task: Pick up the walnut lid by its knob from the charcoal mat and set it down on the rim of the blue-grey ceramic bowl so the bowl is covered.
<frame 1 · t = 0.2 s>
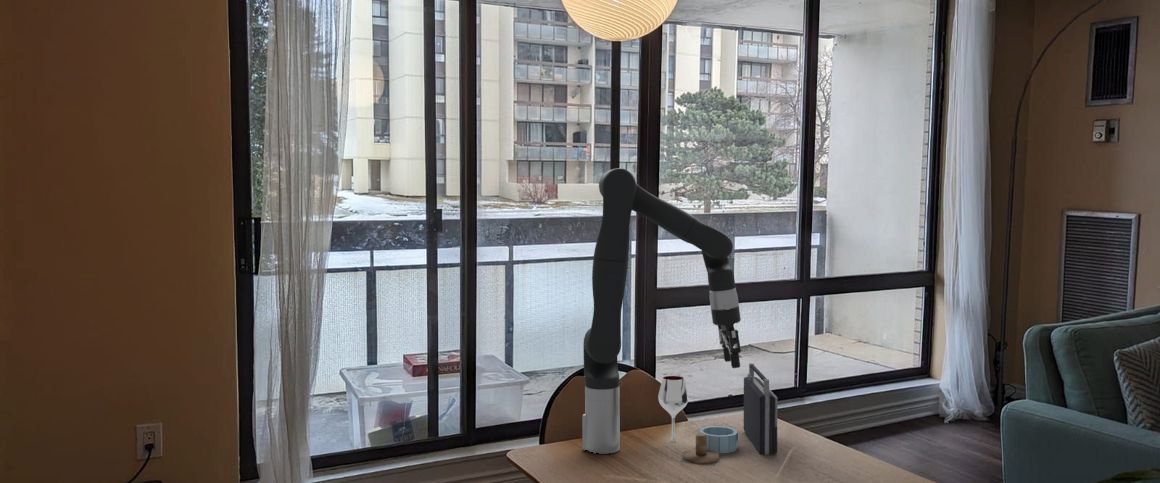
hand: (732, 364, 230), 22 cm above the table, tool pointing down, fingers open, 8 cm apart
wineglass: (673, 443, 234), on the table
bowl: (718, 449, 227), on the table
lid: (701, 458, 218), point 1 cm above the table, touching mat
mat: (701, 460, 218), on the table
radio: (760, 444, 233), on the table
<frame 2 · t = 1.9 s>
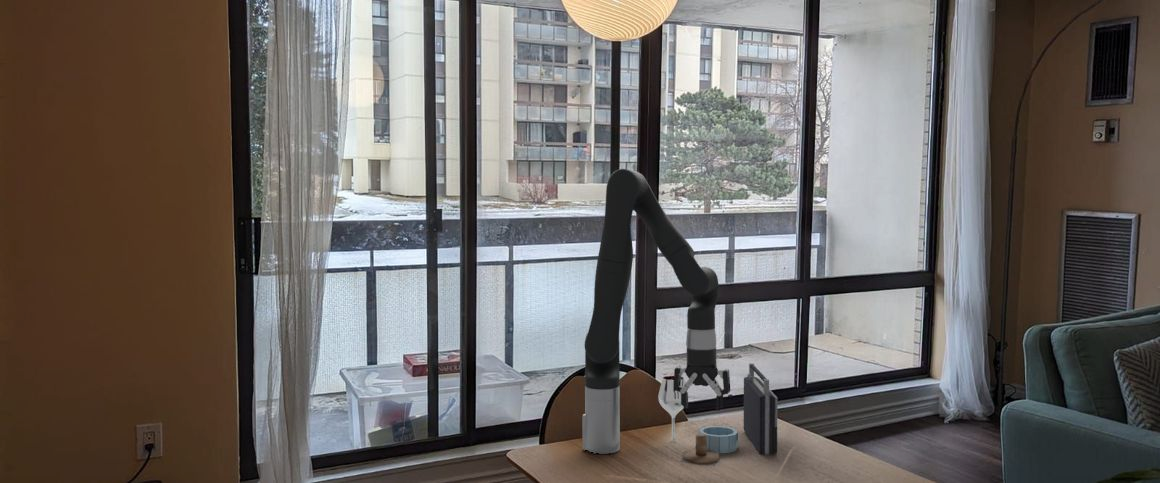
hand: (701, 408, 217), 13 cm above the table, tool pointing down, fingers open, 8 cm apart
nothing on the table moved.
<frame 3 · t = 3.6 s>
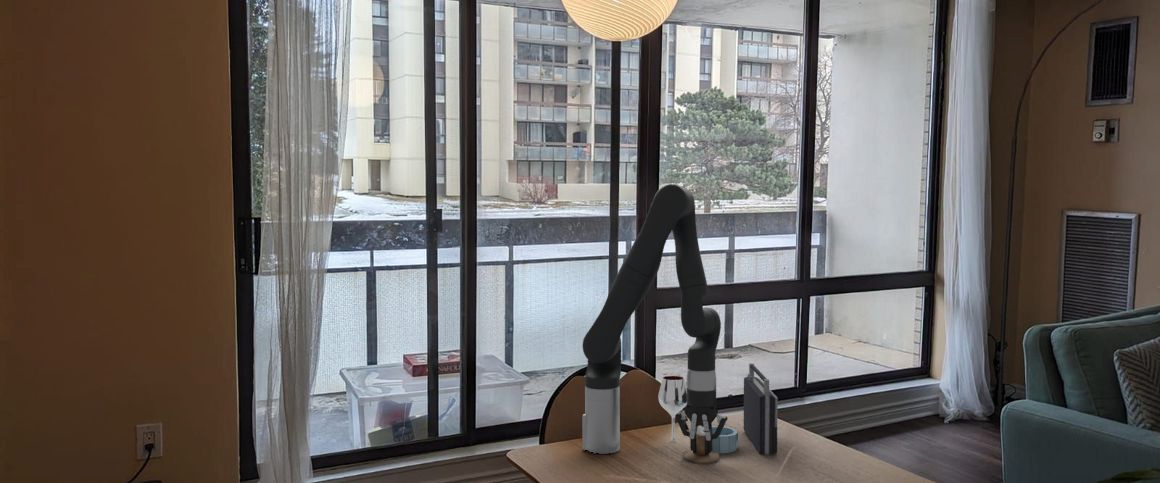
hand: (701, 452, 218), 2 cm above the table, tool pointing down, fingers closed on lid, 2 cm apart
lid: (701, 458, 218), point 1 cm above the table, touching gripper, mat
everything else where it was.
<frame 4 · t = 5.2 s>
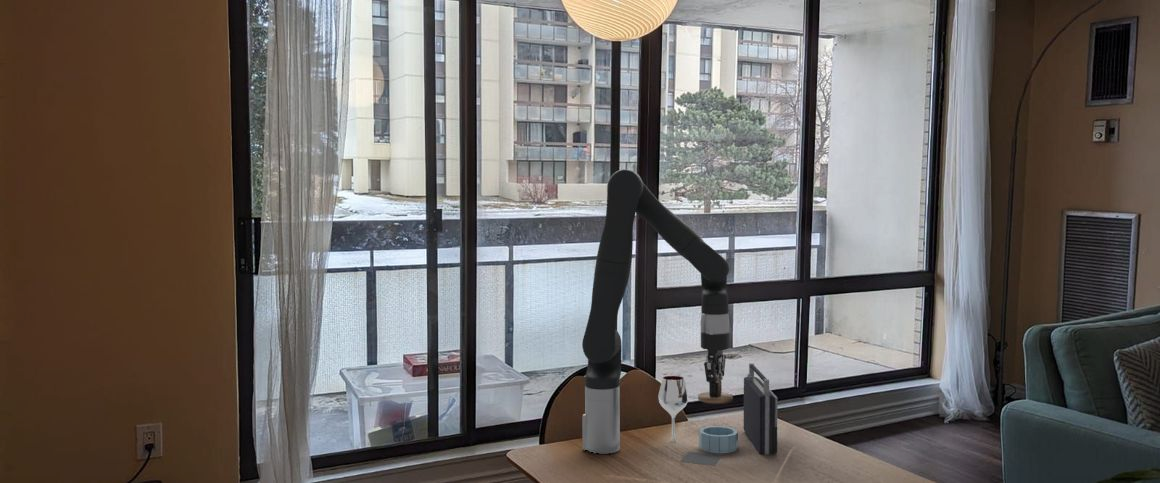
hand: (715, 395, 223), 15 cm above the table, tool pointing down, fingers closed on lid, 2 cm apart
lid: (715, 399, 223), point 14 cm above the table, touching gripper
everything else where it was.
when the fingers open (8 cm above the table, at t = 7.1 s): lid drops 2 cm, resting on bowl.
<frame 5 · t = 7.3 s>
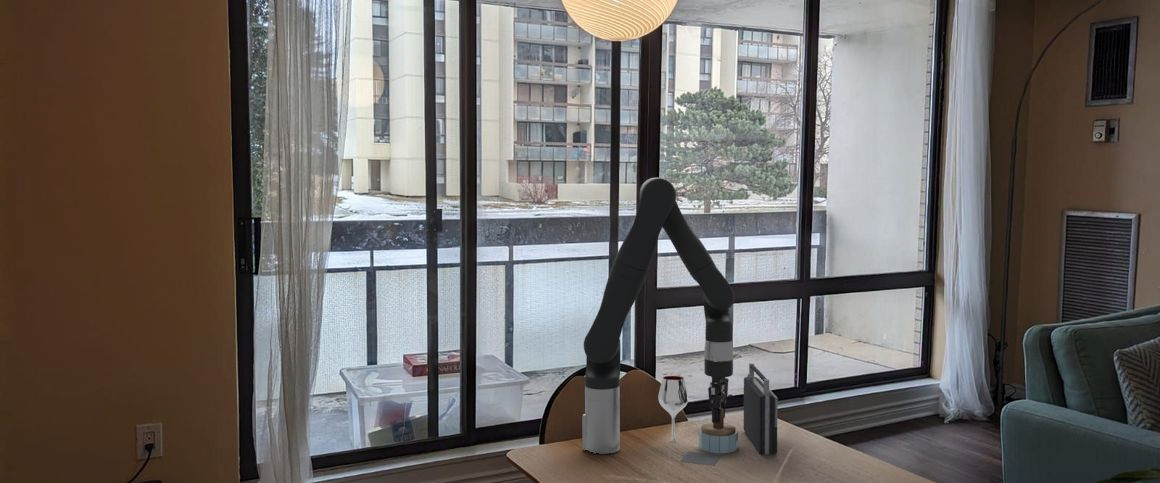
hand: (718, 420, 227), 8 cm above the table, tool pointing down, fingers open, 4 cm apart
lid: (718, 431, 227), point 5 cm above the table, touching bowl
everything else where it was.
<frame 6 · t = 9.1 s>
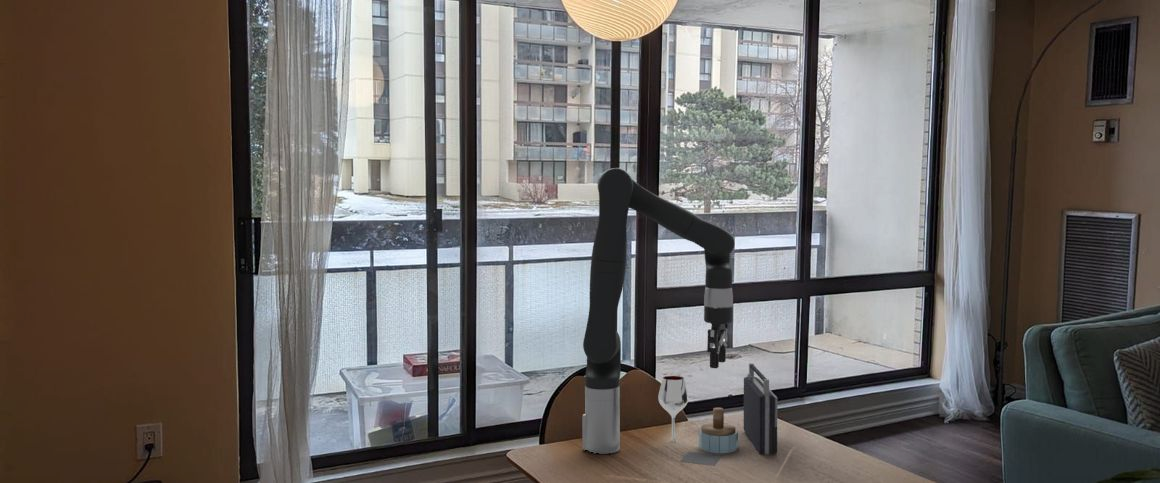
hand: (717, 364, 226), 23 cm above the table, tool pointing down, fingers open, 8 cm apart
nothing on the table moved.
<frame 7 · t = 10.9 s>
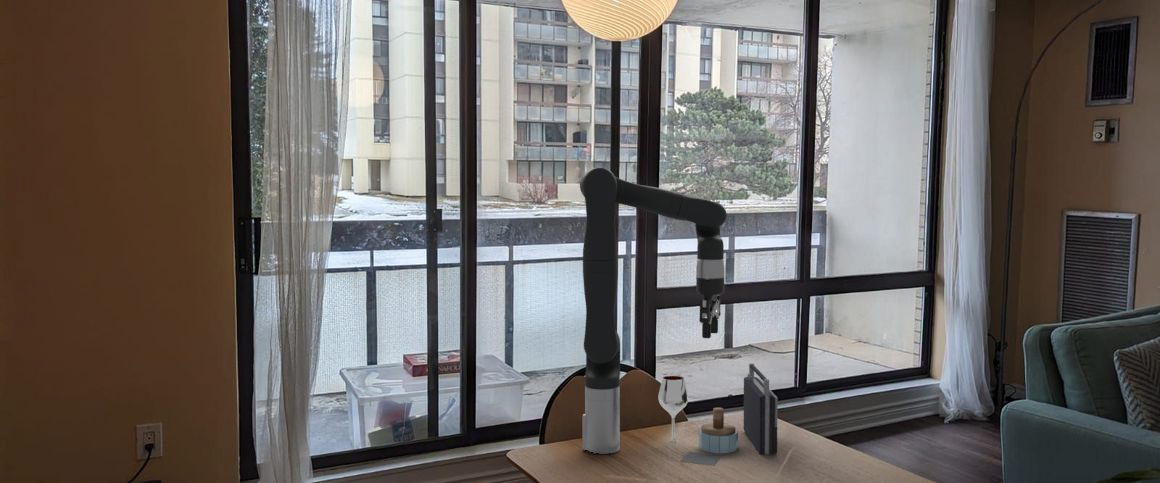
hand: (710, 335, 230), 30 cm above the table, tool pointing down, fingers open, 8 cm apart
nothing on the table moved.
at the end: lid 0.1 cm off-centre on the bowl, point 5.0 cm above the bowl's base; lid tilted 0°; the gripper is holding nothing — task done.
